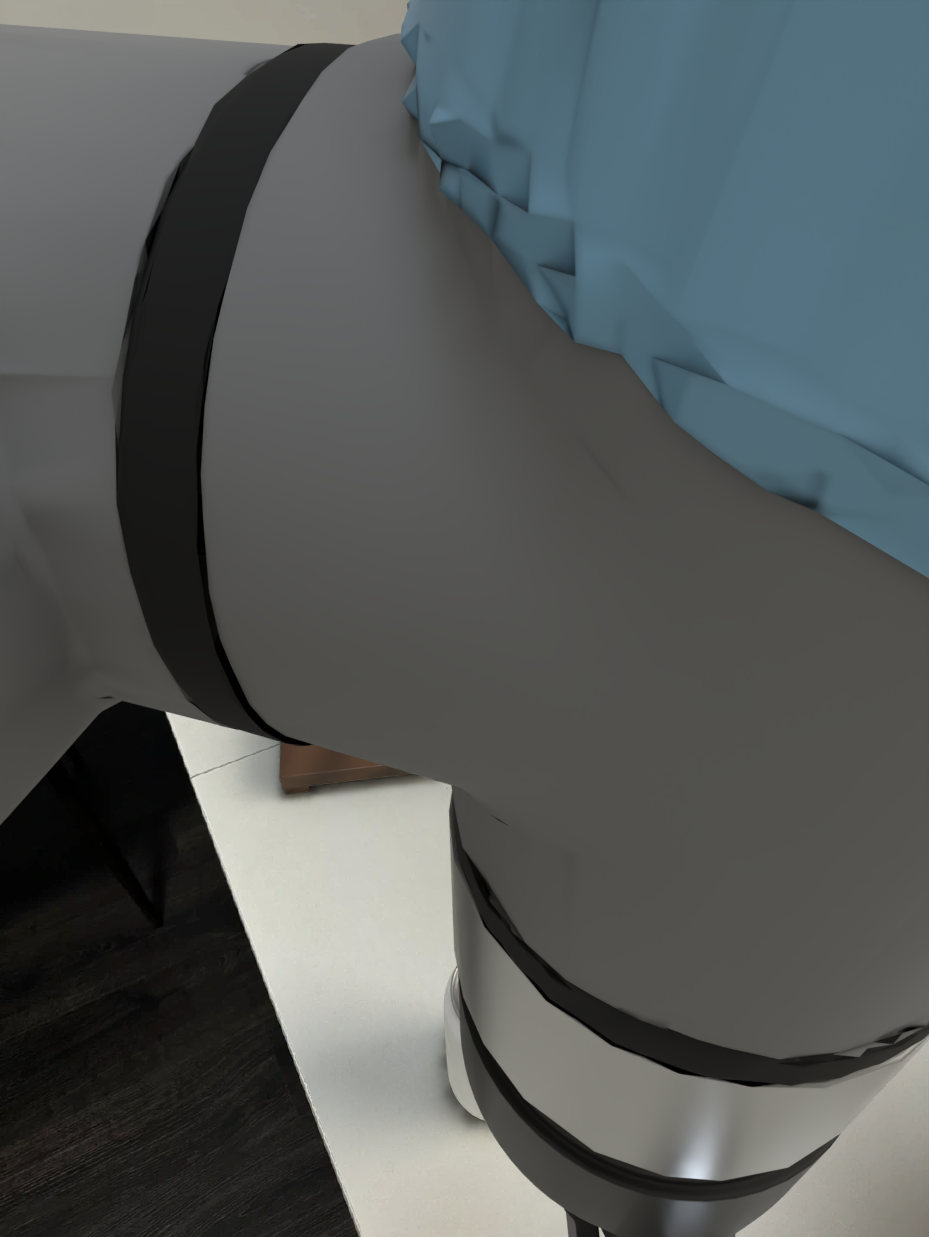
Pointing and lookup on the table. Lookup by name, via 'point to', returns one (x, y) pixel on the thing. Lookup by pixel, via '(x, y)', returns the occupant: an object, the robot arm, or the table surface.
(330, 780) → the shelf
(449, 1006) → the can
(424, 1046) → the table surface
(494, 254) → the robot arm
